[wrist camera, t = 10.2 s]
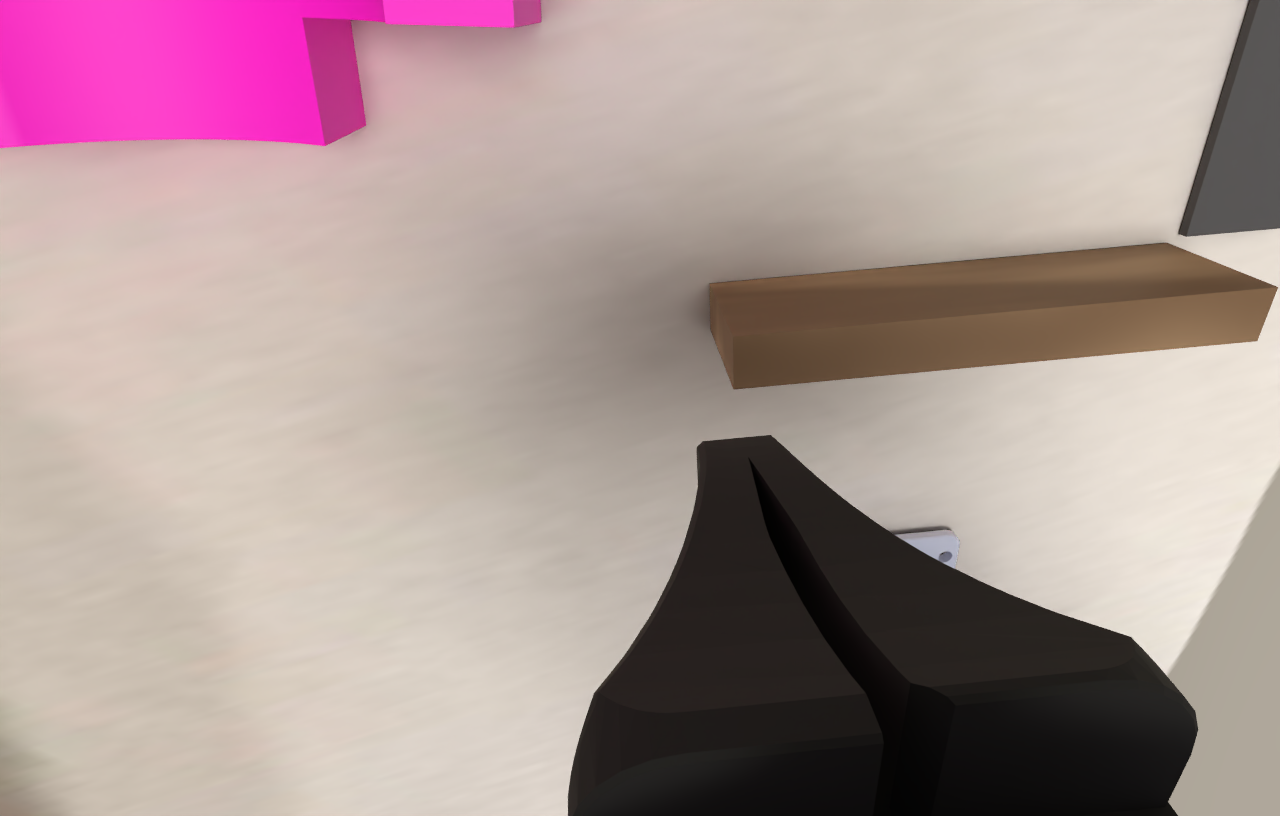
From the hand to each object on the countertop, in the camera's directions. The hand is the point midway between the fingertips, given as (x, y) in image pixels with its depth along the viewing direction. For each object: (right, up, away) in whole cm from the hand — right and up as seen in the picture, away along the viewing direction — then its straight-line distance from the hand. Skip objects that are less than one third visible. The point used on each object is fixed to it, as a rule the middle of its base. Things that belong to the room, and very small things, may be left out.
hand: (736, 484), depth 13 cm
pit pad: (+16, +11, +7) cm, 20 cm away
